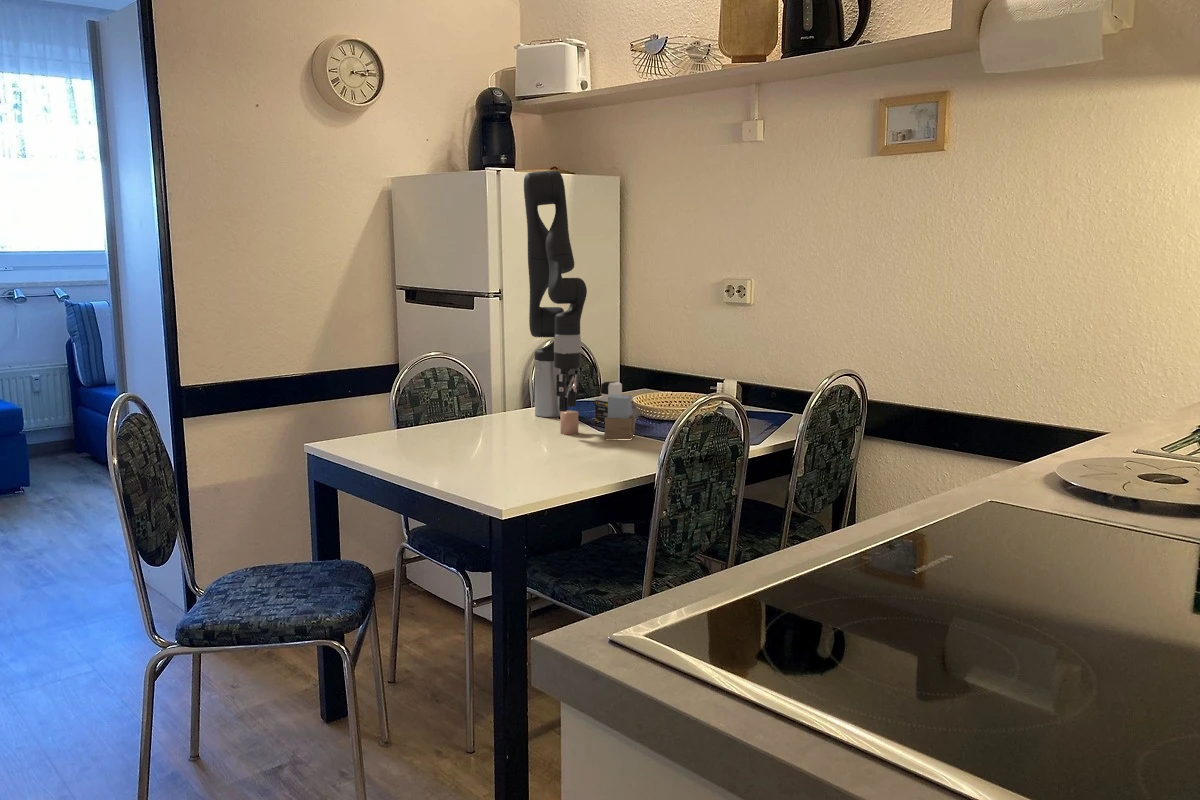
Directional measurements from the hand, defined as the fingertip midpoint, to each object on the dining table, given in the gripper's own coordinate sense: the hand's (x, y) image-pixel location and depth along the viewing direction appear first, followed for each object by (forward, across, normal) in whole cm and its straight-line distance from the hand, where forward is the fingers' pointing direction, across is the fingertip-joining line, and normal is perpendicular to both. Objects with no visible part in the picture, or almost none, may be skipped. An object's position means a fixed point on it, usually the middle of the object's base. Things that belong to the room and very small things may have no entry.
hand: (567, 408), depth 263 cm
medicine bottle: (+7, -20, +8) cm, 23 cm away
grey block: (+1, +2, +15) cm, 15 cm away
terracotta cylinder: (+7, -1, 0) cm, 7 cm away
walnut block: (+7, +2, +15) cm, 17 cm away
